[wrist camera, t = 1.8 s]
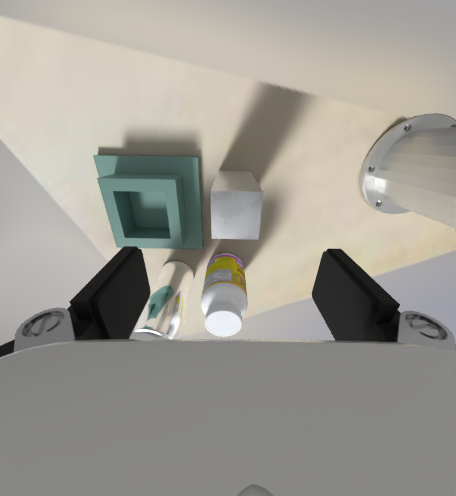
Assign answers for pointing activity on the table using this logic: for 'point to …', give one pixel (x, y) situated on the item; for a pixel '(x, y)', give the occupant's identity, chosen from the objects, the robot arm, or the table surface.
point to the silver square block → (235, 206)
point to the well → (152, 200)
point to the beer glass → (166, 304)
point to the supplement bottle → (224, 295)
